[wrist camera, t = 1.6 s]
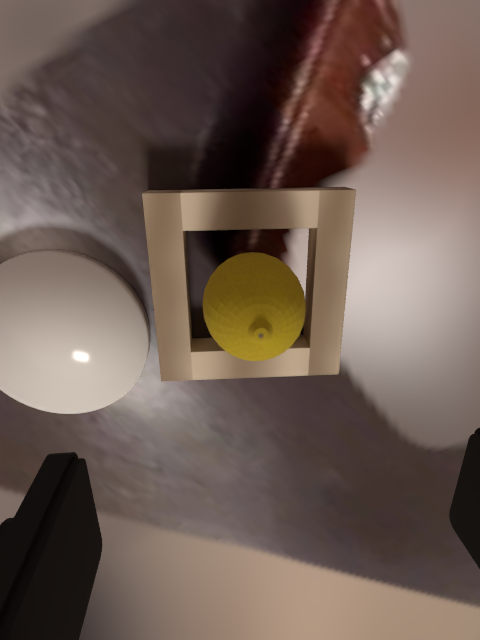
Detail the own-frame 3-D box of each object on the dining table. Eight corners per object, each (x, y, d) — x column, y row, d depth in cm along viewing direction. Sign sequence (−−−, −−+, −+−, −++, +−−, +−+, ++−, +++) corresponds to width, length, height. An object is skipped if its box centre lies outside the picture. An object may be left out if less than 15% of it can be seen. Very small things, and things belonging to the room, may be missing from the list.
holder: (345, 187, 23) (356, 189, 22) (330, 359, 28) (338, 374, 26) (148, 190, 23) (142, 193, 21) (164, 365, 27) (161, 381, 25)
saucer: (141, 246, 24) (137, 251, 23) (157, 400, 28) (155, 410, 27) (-47, 251, 23) (-60, 256, 22) (-1, 406, 28) (-10, 417, 27)
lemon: (190, 260, 25) (179, 305, 17) (273, 225, 24) (299, 257, 17) (225, 335, 27) (228, 403, 19) (302, 304, 26) (336, 362, 19)
